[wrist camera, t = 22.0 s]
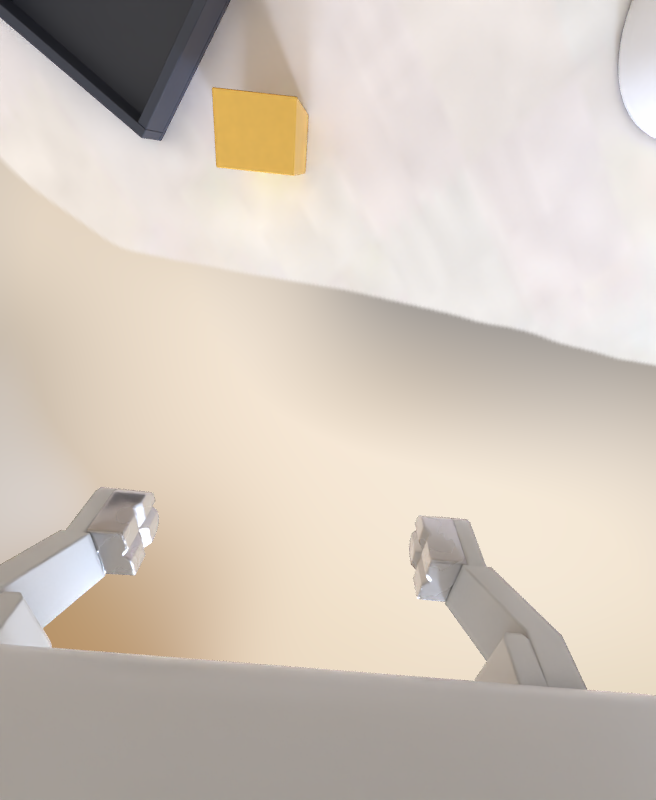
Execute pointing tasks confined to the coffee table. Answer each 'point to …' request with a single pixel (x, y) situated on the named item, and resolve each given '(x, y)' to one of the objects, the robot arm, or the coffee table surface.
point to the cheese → (259, 132)
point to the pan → (123, 50)
